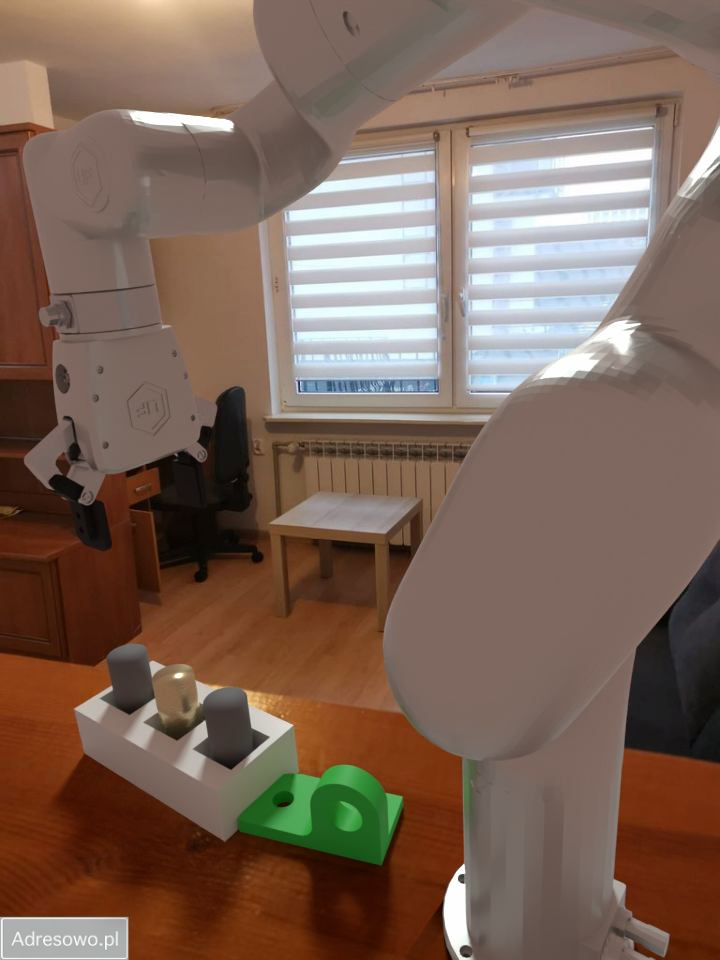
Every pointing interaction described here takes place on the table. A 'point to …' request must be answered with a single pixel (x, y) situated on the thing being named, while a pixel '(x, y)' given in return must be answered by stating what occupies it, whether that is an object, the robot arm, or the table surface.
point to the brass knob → (176, 700)
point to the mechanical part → (327, 813)
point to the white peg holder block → (186, 758)
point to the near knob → (228, 726)
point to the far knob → (130, 677)
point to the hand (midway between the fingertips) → (148, 524)
